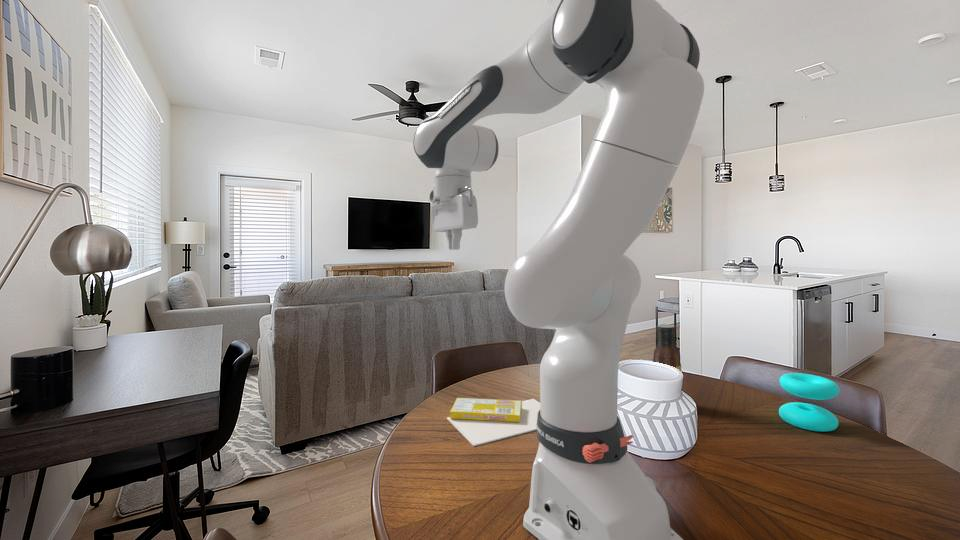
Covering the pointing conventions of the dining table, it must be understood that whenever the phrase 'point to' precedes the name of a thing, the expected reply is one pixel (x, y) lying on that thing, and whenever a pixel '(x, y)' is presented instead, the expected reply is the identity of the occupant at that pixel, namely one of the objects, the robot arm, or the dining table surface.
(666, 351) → the sauce bottle
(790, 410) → the donuts
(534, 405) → the rubber mat
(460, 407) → the candy box
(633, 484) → the robot arm
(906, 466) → the dining table surface
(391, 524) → the dining table surface
